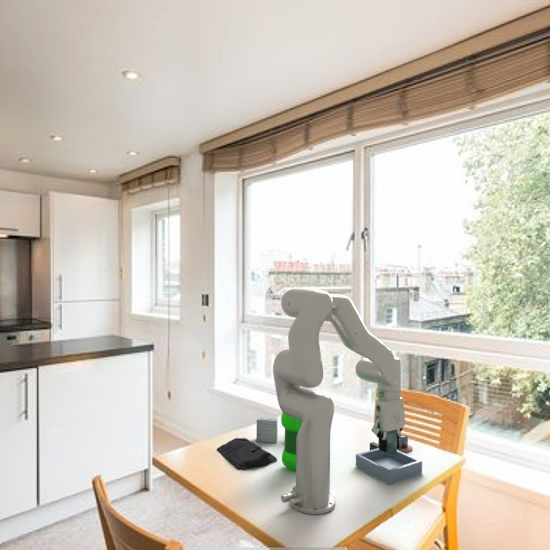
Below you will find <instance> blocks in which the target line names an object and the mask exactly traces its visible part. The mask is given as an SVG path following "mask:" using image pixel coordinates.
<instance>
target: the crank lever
mask: <svg viewBox="0 0 550 550" xmlns="http://www.w3.org/2000/svg"><path fill="white" fill-rule="evenodd" d="M408 438H409V436H408V435H406V434H403V433H401V435H400V436H399V448H398V449H401V448H408V445H409V443H408V442H409V439H408ZM377 448H379V442H374V441H373V442H369V451H370V450H373V449H377Z"/></svg>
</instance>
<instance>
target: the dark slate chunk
mask: <svg viewBox="0 0 550 550" xmlns="http://www.w3.org/2000/svg"><path fill="white" fill-rule="evenodd" d="M216 451H217V453H219V454H220V455H221V456H222V457H223V458H224V459H225V460H226V461H227V462H228V463H229V464H231V466H233V467H234V468H235V470H237V471H248V470H251V469H260V468H263V467H267V466H269V465H271V464H273V463H275V462H278V457H276V456H275V455H273V454H272V453H270V452H269V451H266V450H265V449H263V448H262V447H261V446H259V445H258V444H257V443H254V442H253V441H251V440H250V439H248V438H245V437H242V438H241V437H235V438H234V439H232V440H229V441H228V442H226V443H225V444H222V445H220V446H218V447H217V448H216Z"/></svg>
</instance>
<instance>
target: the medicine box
mask: <svg viewBox="0 0 550 550" xmlns="http://www.w3.org/2000/svg"><path fill="white" fill-rule="evenodd" d="M278 422H279V421H278V417H275V416H258V417H257V419H256V440H255V441H256V443H271V444H274V443H275V444H277V443H278V438H279V436H278V429H279V428H278Z"/></svg>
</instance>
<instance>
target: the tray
mask: <svg viewBox="0 0 550 550" xmlns="http://www.w3.org/2000/svg"><path fill="white" fill-rule="evenodd" d="M355 467H356V468H358V469H360V470H362V471H363V472H365V473H367V474H369V475H371V476H372V477H374V478H376V479H377V480H379V481H381V482H383V483H384V484H386V485H389V486H390V485H393V484H395V483H398V482H402V481H405V480H408V479H411V478H414V477H416V476H419V475H422V474H423V461H422V460H420V459H418V458H417V457H416V458H415V457H414V456H412V455H409V454H408V453H406V452H401V451H398V450H397V454H396V455H394V456H387V455H384V454H382V453H381V450H379V448H377V449H373V450H370V449H369V450H367V451H364V452H359V453H356V454H355Z"/></svg>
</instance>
